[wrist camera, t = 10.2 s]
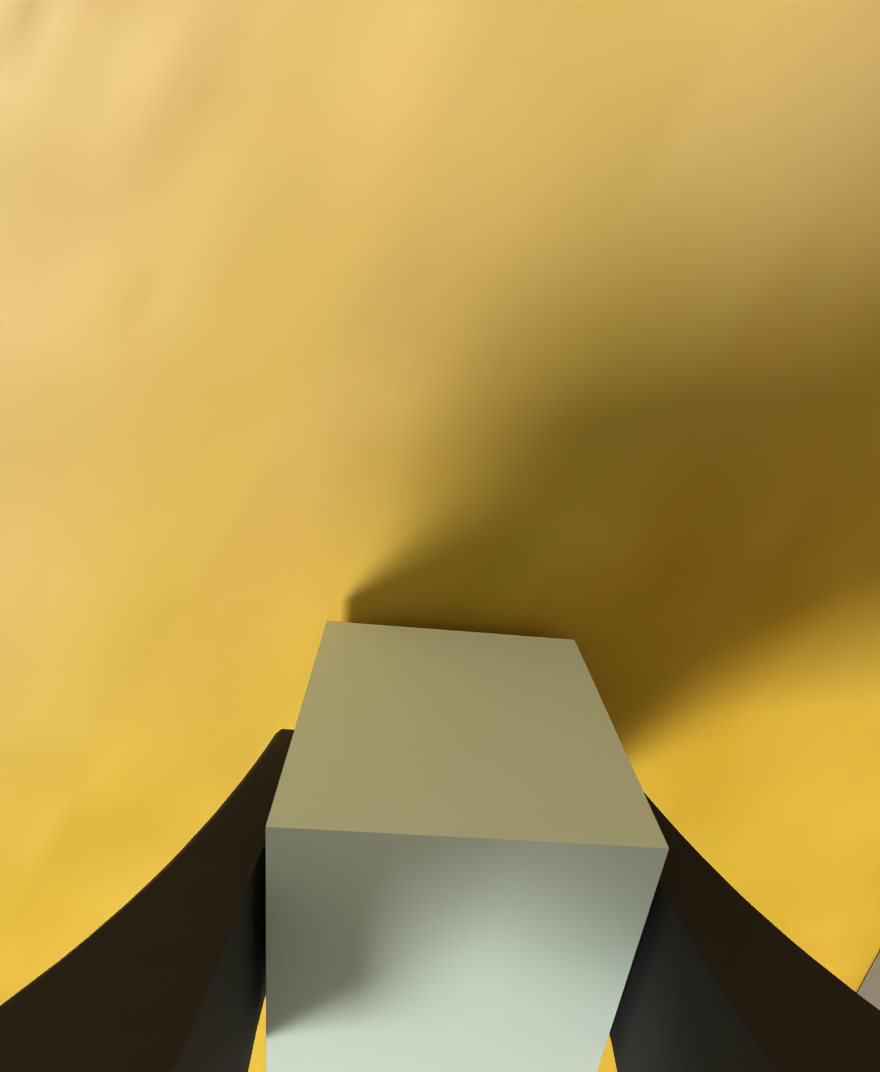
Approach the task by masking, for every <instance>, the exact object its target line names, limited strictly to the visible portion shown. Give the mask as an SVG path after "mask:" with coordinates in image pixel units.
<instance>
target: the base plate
mask: <svg viewBox="0 0 880 1072" xmlns="http://www.w3.org/2000/svg"><path fill="white" fill-rule="evenodd" d="M857 994H859V995H860V996H861V997H863V998H864V999H865V1000H867V1001H868V1002H869V1003H871V1004H872V1005H873V1006H875V1007H876V1008H877V1009H879V1010H880V952H879V954H878V956H877V958H876V959H875V961H874V963H873V965H872V967H871V969H870V970H869V972H868V974H867V976H866V978H865V980H864V981H863V983H862V985H861V987H860V989H859V991H858V992H857Z"/></svg>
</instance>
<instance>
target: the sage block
mask: <svg viewBox="0 0 880 1072" xmlns="http://www.w3.org/2000/svg"><path fill="white" fill-rule="evenodd" d="M668 850H669V847H668V845H667V843H666V841H665V838H664V836H663V834H662V832H661V830H660V827H659V825H658V823H657V821H656V819H655V816H654V814H653V812H652V810H651V807H650V805H649V803H648V801H647V799H646V796H645V794H644V792H643V790H642V788H641V785H640V783H639V781H638V779H637V777H636V774H635V772H634V770H633V768H632V766H631V763H630V761H629V759H628V757H627V754H626V752H625V750H624V748H623V746H622V743H621V741H620V739H619V737H618V735H617V732H616V730H615V728H614V726H613V724H612V721H611V719H610V717H609V715H608V713H607V710H606V708H605V706H604V704H603V701H602V699H601V697H600V695H599V693H598V690H597V688H596V686H595V684H594V682H593V679H592V677H591V675H590V673H589V671H588V668H587V666H586V664H585V662H584V660H583V657H582V655H581V653H580V651H579V648H578V646H577V644H576V642H575V640H572V639H559V638H546V637H533V636H520V635H506V634H493V633H480V632H467V631H454V630H441V629H427V628H414V627H401V626H388V625H375V624H361V623H348V622H335V621H327V623H326V626H325V630H324V633H323V636H322V640H321V643H320V646H319V650H318V653H317V656H316V660H315V663H314V666H313V670H312V673H311V677H310V680H309V683H308V687H307V690H306V693H305V697H304V700H303V703H302V707H301V710H300V713H299V717H298V720H297V723H296V727H295V730H294V733H293V737H292V740H291V743H290V747H289V750H288V753H287V757H286V760H285V763H284V767H283V770H282V773H281V777H280V780H279V783H278V787H277V790H276V794H275V797H274V800H273V804H272V807H271V810H270V814H269V817H268V820H267V824H266V1072H597V1070H598V1067H599V1064H600V1061H601V1058H602V1054H603V1051H604V1048H605V1045H606V1042H607V1039H608V1036H609V1033H610V1030H611V1027H612V1024H613V1020H614V1017H615V1014H616V1011H617V1008H618V1005H619V1002H620V999H621V996H622V993H623V989H624V986H625V983H626V980H627V977H628V974H629V971H630V968H631V965H632V962H633V959H634V955H635V952H636V949H637V946H638V943H639V940H640V937H641V934H642V931H643V928H644V924H645V921H646V918H647V915H648V912H649V909H650V906H651V903H652V900H653V897H654V894H655V890H656V887H657V884H658V881H659V878H660V875H661V872H662V869H663V866H664V863H665V859H666V856H667V853H668Z"/></svg>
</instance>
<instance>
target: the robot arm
mask: <svg viewBox="0 0 880 1072" xmlns="http://www.w3.org/2000/svg"><path fill="white" fill-rule="evenodd" d="M293 733H294V730H288V729H281V730H280V731H279V732H277V733H276V734H275V736H274V737H273V739H272V740H271V742H270V743H269V745H268V746H267V748H266V749H265V750H264V752H263V753H262V755H261V756H260V757H259V759H258V760H257V762H256V763H255V764H254V766H253V767H252V768H251V769H250V771H249V772H248V773H247V775H246V776H245V777H244V779H243V780H242V781H241V782H240V784H239V785H238V786H237V787H236V789H235V790H234V791H233V792H232V793H231V795H230V796H229V797H228V798H227V799H226V801H225V802H224V803H223V804H222V806H221V807H220V808H219V809H218V810H217V812H216V813H215V814H214V815H213V816H212V817H211V818H210V820H209V821H208V822H207V823H206V824H205V825H204V826H203V827H202V828H201V829H200V831H199V832H198V833H197V834H196V835H195V836H194V837H193V838H192V839H191V840H190V841H189V843H188V844H187V845H186V846H185V847H184V848H183V849H182V850H181V851H180V852H179V853H178V854H177V855H176V856H175V857H174V859H173V860H172V861H171V862H170V863H169V864H168V865H167V866H166V867H165V868H164V869H163V870H162V871H161V872H160V873H159V874H158V875H157V876H155V877H154V878H153V879H152V880H151V881H150V882H149V883H148V884H147V885H146V886H145V887H144V888H143V889H142V890H141V891H140V892H139V893H138V894H137V895H135V896H134V897H133V898H132V899H131V900H130V901H129V902H128V903H127V904H126V905H125V906H124V907H122V908H121V909H120V910H119V911H118V912H117V913H115V914H114V915H113V916H112V917H111V918H110V919H109V920H107V921H106V922H105V923H104V924H103V925H102V926H101V927H99V928H98V929H97V930H96V931H95V932H94V933H93V934H91V935H90V936H89V937H88V938H87V939H85V940H84V941H83V942H82V943H81V944H79V945H78V946H77V947H76V948H75V949H73V950H72V951H71V952H70V953H68V954H67V955H66V956H65V957H64V958H62V959H61V960H60V961H59V962H57V963H56V964H55V965H53V966H52V967H51V968H49V969H48V970H47V971H45V972H44V973H43V974H41V975H40V976H39V977H37V978H36V979H35V980H34V981H32V982H31V983H30V984H28V985H27V986H26V987H24V988H23V989H22V990H20V991H19V992H18V993H16V994H15V995H14V996H12V997H11V998H10V999H9V1000H7V1001H6V1002H5V1003H3V1004H2V1005H1V1006H0V1072H248V1069H249V1064H250V1059H251V1054H252V1049H253V1044H254V1039H255V1034H256V1030H257V1026H258V1022H259V1018H260V1014H261V1010H262V1006H263V1002H264V998H265V995H266V824H267V820H268V817H269V814H270V810H271V807H272V804H273V800H274V797H275V794H276V790H277V787H278V783H279V780H280V777H281V773H282V770H283V767H284V763H285V760H286V757H287V753H288V750H289V747H290V743H291V740H292V737H293ZM644 794H645V793H644ZM645 796H646V799H647V801H648V803H649V805H650V807H651V810H652V812H653V814H654V816H655V819H656V821H657V823H658V825H659V827H660V830H661V832H662V834H663V836H664V838H665V841H666V843H667V845H668V847H669V850H668V853H667V856H666V859H665V863H664V866H663V869H662V872H661V875H660V878H659V881H658V884H657V887H656V890H655V894H654V897H653V900H652V903H651V906H650V909H649V912H648V915H647V918H646V921H645V924H644V928H643V931H642V934H641V937H640V940H639V943H638V946H637V949H636V952H635V955H634V959H633V962H632V965H631V968H630V971H629V974H628V977H627V980H626V983H625V986H624V989H623V993H622V996H621V999H620V1002H619V1005H618V1008H617V1011H616V1014H615V1017H614V1020H613V1024H612V1027H611V1030H610V1033H609V1034H610V1038H611V1042H612V1046H613V1051H614V1057H615V1062H616V1067H617V1072H880V1010H879V1009H877V1008H876V1007H875V1006H873V1005H872V1004H871V1003H869V1002H868V1001H867V1000H865V999H864V998H863V997H861V996H860V995H859V994H857V993H856V992H855V991H853V990H852V989H851V988H850V987H848V986H847V985H846V984H845V983H843V982H842V981H841V980H839V979H838V978H837V977H836V976H834V975H833V974H832V973H831V972H829V971H828V970H827V969H826V968H824V967H823V966H822V965H821V964H819V963H818V962H817V961H815V960H814V959H813V958H812V957H810V956H809V955H808V954H807V953H806V952H804V951H803V950H802V949H801V948H800V947H798V946H797V945H796V944H795V943H794V942H792V941H791V940H790V939H789V938H788V937H787V936H786V935H784V934H783V933H782V932H781V931H780V930H779V929H778V928H777V927H775V926H774V925H773V924H772V923H771V922H770V921H769V920H768V919H766V918H765V917H764V916H763V915H762V914H761V913H760V912H759V911H757V910H756V909H755V908H754V907H753V906H752V905H751V904H750V903H749V902H748V901H746V900H745V899H744V898H743V897H742V896H741V895H740V894H739V893H738V892H737V891H736V890H735V889H734V888H733V887H732V886H731V885H730V884H729V883H728V882H727V881H726V880H725V879H724V878H723V877H722V876H721V875H720V874H719V873H718V872H717V871H716V870H715V869H714V868H713V867H712V866H711V865H710V864H709V863H708V862H707V861H706V860H705V859H704V858H703V857H702V856H701V855H700V854H699V853H698V852H697V851H696V850H695V849H694V848H693V847H692V846H691V845H690V843H689V842H688V841H687V840H686V839H685V838H684V837H683V836H682V835H681V834H680V833H679V832H678V830H677V829H676V828H675V827H674V826H673V825H672V824H671V823H670V822H669V820H668V819H667V818H666V817H665V816H664V815H663V814H662V813H661V811H660V810H659V809H658V808H657V807H656V806H655V805H654V803H653V802H652V801H651V800H650V799H649V798H648V797H647V795H646V794H645Z"/></svg>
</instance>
